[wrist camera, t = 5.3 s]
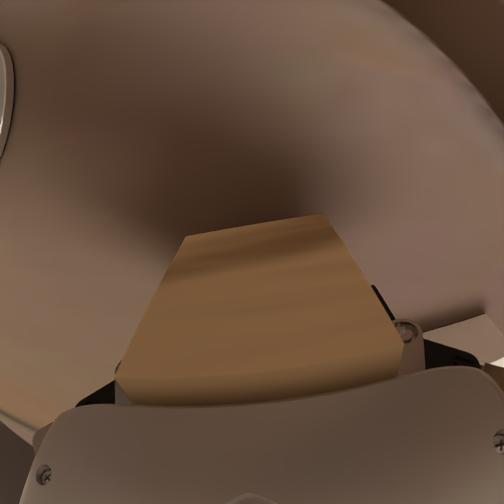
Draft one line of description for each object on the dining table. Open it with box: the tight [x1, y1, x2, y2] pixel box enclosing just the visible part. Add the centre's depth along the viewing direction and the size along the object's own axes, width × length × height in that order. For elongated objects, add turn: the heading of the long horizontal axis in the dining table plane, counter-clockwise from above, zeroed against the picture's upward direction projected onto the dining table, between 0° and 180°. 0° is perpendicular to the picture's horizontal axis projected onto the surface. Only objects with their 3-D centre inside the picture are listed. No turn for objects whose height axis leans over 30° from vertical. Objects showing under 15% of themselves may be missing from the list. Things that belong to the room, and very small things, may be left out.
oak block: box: [114, 213, 404, 406], centre depth 10 cm, size 6×6×8 cm
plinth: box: [423, 314, 504, 368], centre depth 18 cm, size 14×14×5 cm
